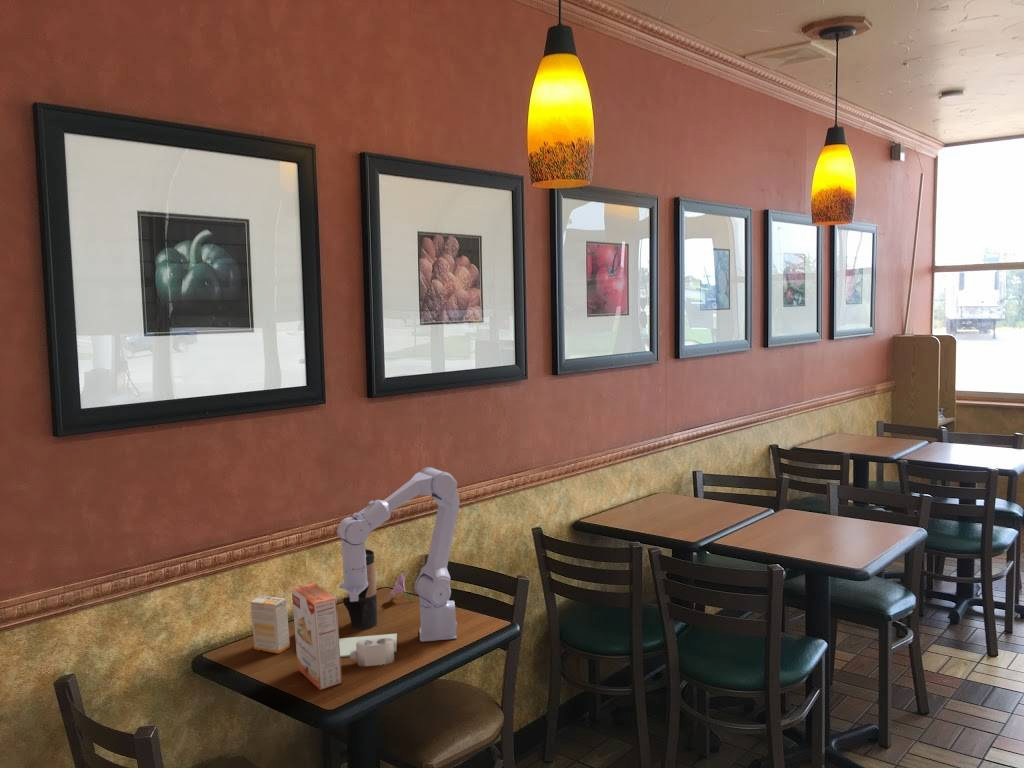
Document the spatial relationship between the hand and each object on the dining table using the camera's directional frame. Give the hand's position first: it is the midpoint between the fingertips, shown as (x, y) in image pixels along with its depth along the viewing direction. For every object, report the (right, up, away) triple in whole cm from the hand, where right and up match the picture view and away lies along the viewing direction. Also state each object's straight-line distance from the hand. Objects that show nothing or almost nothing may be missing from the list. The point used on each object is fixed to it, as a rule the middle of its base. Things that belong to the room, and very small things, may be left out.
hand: (358, 619), depth 206 cm
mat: (+1, -9, +7) cm, 11 cm away
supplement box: (-24, -10, +8) cm, 27 cm away
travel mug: (-2, -8, +22) cm, 23 cm away
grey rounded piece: (+5, -10, -3) cm, 11 cm away
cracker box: (-7, -11, -10) cm, 17 cm away
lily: (+5, -6, +38) cm, 39 cm away
